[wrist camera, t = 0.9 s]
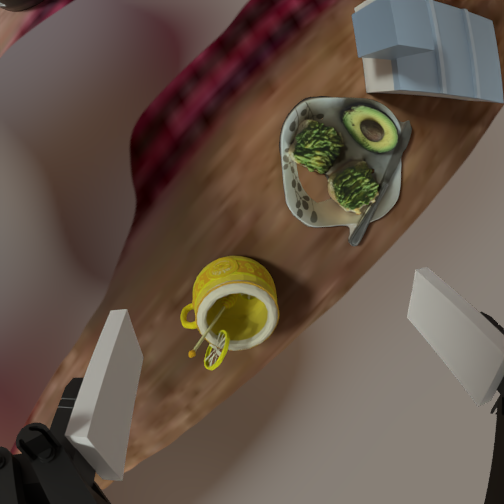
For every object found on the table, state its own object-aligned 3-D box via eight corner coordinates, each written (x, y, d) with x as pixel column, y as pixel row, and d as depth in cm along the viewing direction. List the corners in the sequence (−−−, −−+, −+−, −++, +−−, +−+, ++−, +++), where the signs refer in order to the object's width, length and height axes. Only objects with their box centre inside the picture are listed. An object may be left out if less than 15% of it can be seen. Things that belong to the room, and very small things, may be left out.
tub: (354, 8, 31) (378, -8, 24) (456, 27, 32) (486, 21, 25) (366, 92, 35) (394, 90, 29) (465, 100, 36) (497, 102, 30)
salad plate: (398, 236, 44) (414, 248, 40) (280, 247, 43) (288, 262, 39) (404, 103, 37) (423, 103, 32) (275, 96, 35) (283, 93, 31)
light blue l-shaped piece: (343, -10, 25) (380, -40, 17) (482, 22, 26) (527, 16, 18) (358, 89, 29) (403, 84, 21) (493, 102, 31) (540, 107, 23)
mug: (260, 238, 42) (277, 283, 31) (280, 306, 46) (300, 362, 35) (166, 268, 42) (153, 321, 31) (196, 332, 46) (194, 392, 35)
